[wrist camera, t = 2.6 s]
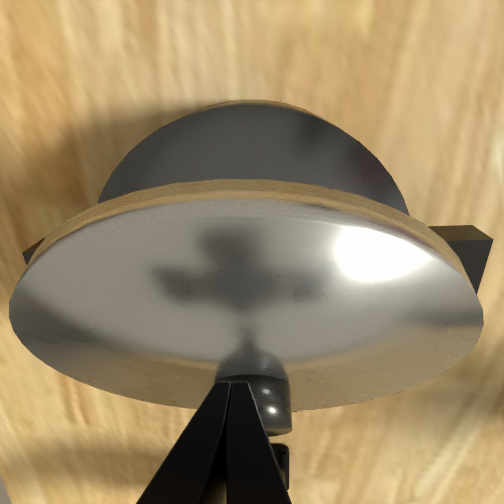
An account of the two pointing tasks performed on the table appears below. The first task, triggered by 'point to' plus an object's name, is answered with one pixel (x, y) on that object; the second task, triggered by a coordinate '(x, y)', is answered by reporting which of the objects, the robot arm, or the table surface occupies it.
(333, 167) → the pot
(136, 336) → the lid
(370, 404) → the table surface
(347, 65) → the table surface
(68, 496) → the table surface
